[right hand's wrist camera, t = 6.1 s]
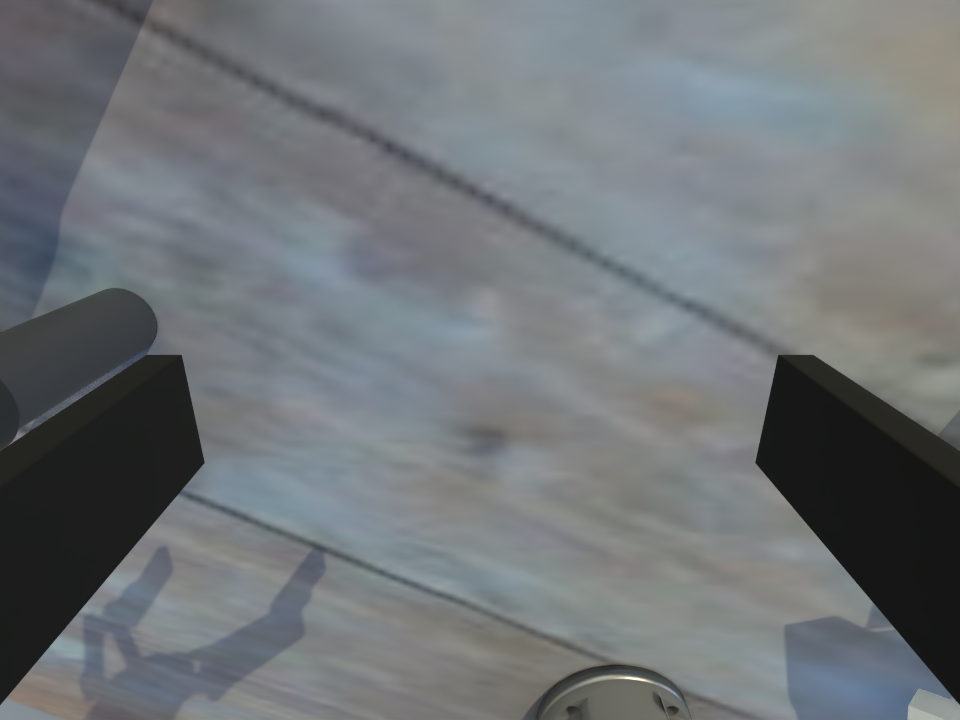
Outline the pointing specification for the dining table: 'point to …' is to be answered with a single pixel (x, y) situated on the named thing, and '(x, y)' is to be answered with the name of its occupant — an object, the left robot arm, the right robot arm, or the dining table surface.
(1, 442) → the lid
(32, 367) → the dark grey cylinder
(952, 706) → the white plastic object
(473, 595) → the dining table surface
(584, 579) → the dining table surface
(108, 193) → the dining table surface
